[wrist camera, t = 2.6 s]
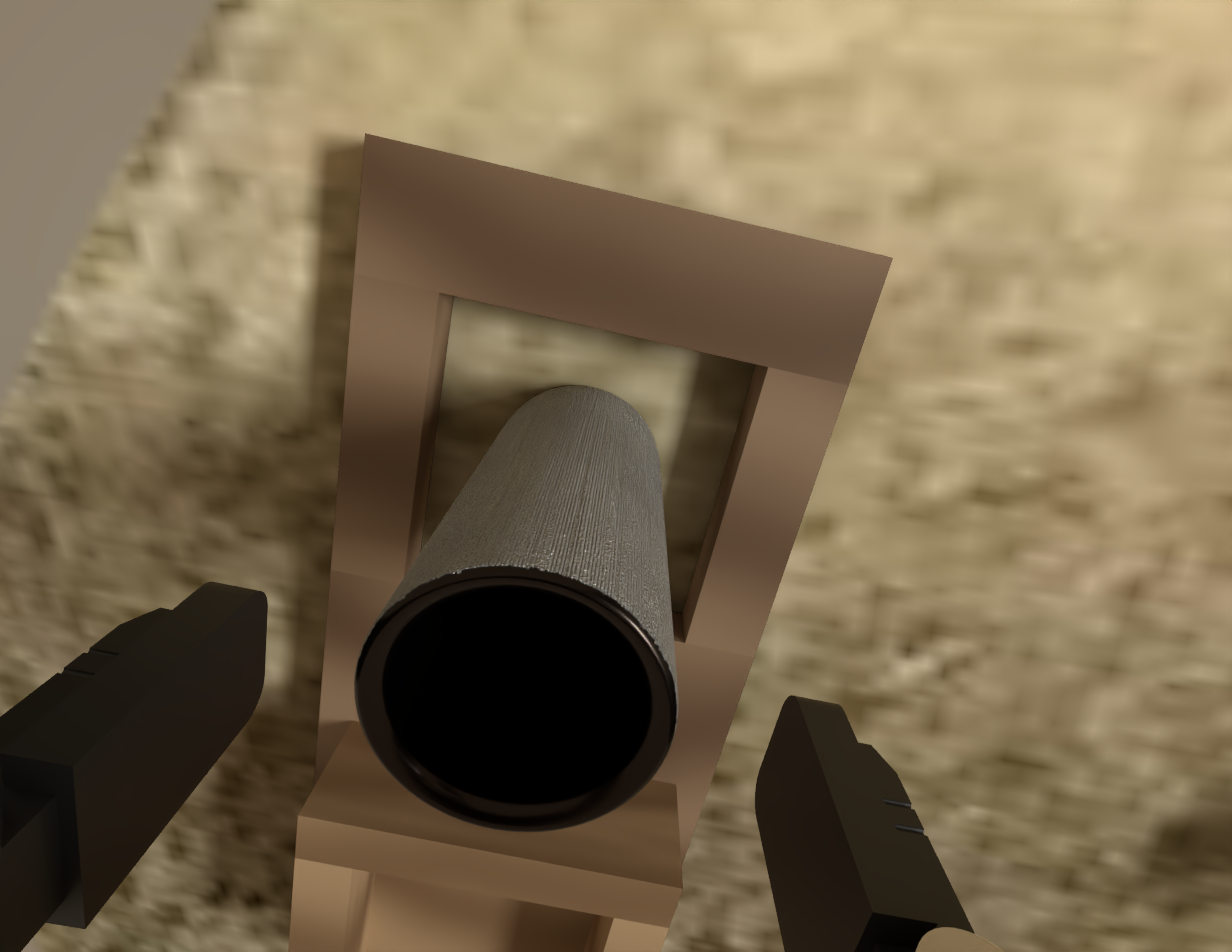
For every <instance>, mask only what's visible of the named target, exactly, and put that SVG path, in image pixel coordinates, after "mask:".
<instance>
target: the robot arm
mask: <svg viewBox="0 0 1232 952" xmlns="http://www.w3.org/2000/svg"><path fill="white" fill-rule="evenodd" d="M267 609H268V603H267V598H266V595H265V593H264V592H262V591H257V590H252V589H247V588H242V587H237V586H231V585H226V584H221V583H216V582H208V583H205V584H204V585H202V586H201V587H200V588H198V589H197V590H196V591H195V592H194V593H192V594H191V595H190V596H189V597H188V598H186V599H185V600H184V601H183V602H182V603H180V604H179V605H178V606H177V607H175V608H174V609H173V610H169V609H164V608H159V609H156V610H154V611H151V612H149V613H147V614H144V615H142V616H140V617H137V618H135V619H132V620H130V621H128V622H125V623H123V624H120V625H119V626H118V627H116V628H115V629H114V630H112V631H111V632H110V633H109V634H107V635H106V636H105V637H103V638H102V639H101V640H100V641H98V642H97V643H96V644H94V645H93V646H92V647H90V650H89V652H88V653H83V654H81V655H80V656H79V657H77V658H76V659H75V660H74V661H72V662H71V663H70V664H68V665H67V666H66V667H64V671H63V672H62V673H61V674H60V673H57V674H55V675H54V676H53V677H51V678H50V679H49V680H48V681H46V682H45V683H44V684H42V685H41V686H40V687H39V688H37V689H36V690H35V691H33V692H32V693H31V694H29V695H28V696H27V697H26V698H24V699H23V700H22V701H20V702H19V703H18V704H16V705H15V706H14V707H13V708H11V709H10V710H9V711H7V712H6V713H5V714H3V715H2V716H1V717H0V952H21V951H22V950H23V948H24V947H25V946H26V945H27V944H28V943H29V941H30V940H31V939H32V938H33V937H34V935H35V934H36V933H37V932H38V931H39V930H40V928H41V927H42V926H43V925H44V924H45V922H46V923H51V924H57V925H63V926H69V927H75V928H81V929H86V927H87V926H88V925H89V924H90V922H91V921H92V920H93V918H94V917H95V916H96V915H97V913H98V912H99V911H100V909H101V908H102V907H103V906H104V904H105V903H106V902H107V901H108V899H109V898H110V897H111V895H112V894H113V893H114V892H115V890H116V889H117V888H118V886H119V885H120V884H121V883H122V881H123V880H124V879H125V878H126V876H127V875H128V874H129V872H130V871H131V870H132V869H133V867H134V866H135V865H136V863H137V862H138V861H139V860H140V858H141V857H142V856H143V855H144V853H145V852H146V851H147V849H148V848H149V847H150V846H151V844H152V843H153V842H154V840H155V839H156V838H157V837H158V835H159V834H160V833H161V832H162V830H163V829H164V828H165V826H166V825H167V824H168V823H169V821H170V820H171V819H172V817H173V816H174V815H175V814H176V812H177V811H178V810H179V808H180V807H181V806H182V805H183V803H184V802H185V801H186V800H187V798H188V797H189V796H190V794H191V793H192V792H193V791H194V789H195V788H196V787H197V785H198V784H199V783H200V782H201V780H202V779H203V778H204V777H205V775H206V774H207V773H208V771H209V770H210V769H211V768H212V766H213V765H214V764H215V762H216V761H217V760H218V759H219V757H220V756H221V755H222V754H223V752H224V751H225V750H226V748H227V747H228V746H229V745H230V743H231V742H232V741H233V739H234V738H235V737H236V736H237V734H238V733H239V732H240V731H241V729H242V728H243V727H244V725H245V724H246V723H247V721H248V720H249V719H250V717H251V715H252V714H253V712H254V710H255V708H256V706H257V703H258V701H259V698H260V695H261V692H262V688H263V684H264V676H265V655H266V632H267ZM755 810H756V818H757V823H758V827H759V832H760V837H761V841H762V846H763V851H764V856H765V860H766V865H767V870H768V874H769V879H770V884H771V889H772V893H773V898H774V903H775V907H776V912H777V917H778V922H779V926H780V931H781V936H782V940H783V945H784V950H785V952H1004V951H1002V950H1001V949H1000V948H998V947H997V946H996V945H994V944H992V943H991V942H989V941H988V940H986V939H984V938H982V937H980V936H978V935H976V934H975V933H974V931H973V929H972V927H971V925H970V923H969V921H968V919H967V917H966V914H965V912H964V910H963V908H962V906H961V904H960V902H959V900H958V898H957V896H956V894H955V892H954V890H953V888H952V886H951V884H950V882H949V880H948V878H947V876H946V873H945V871H944V869H943V867H942V865H941V863H940V861H939V859H938V857H937V855H936V853H935V851H934V849H933V847H932V845H931V843H930V841H929V839H928V837H927V836H925V835H924V834H923V830H924V828H923V826H922V824H921V822H920V820H919V818H918V816H917V814H916V812H915V810H913V809H911V802H910V800H909V798H908V796H907V793H906V791H905V789H904V787H903V785H902V783H901V781H900V779H899V777H898V775H897V773H896V772H895V771H894V770H893V769H892V768H891V767H890V765H889V764H888V763H887V762H886V761H885V760H884V759H883V758H882V757H881V756H880V754H879V753H878V752H877V751H876V750H875V749H874V748H873V747H872V746H871V745H868V744H863V743H858V741H857V739H856V737H855V734H854V732H853V730H852V728H851V725H850V723H849V721H848V719H847V716H846V714H845V712H844V710H843V708H842V707H841V706H840V705H838V704H834V703H829V702H824V701H818V700H813V699H808V698H803V697H798V696H792V695H791V696H789V697H788V698H787V699H786V700H785V702H784V704H783V706H782V709H781V712H780V715H779V717H778V720H777V723H776V726H775V728H774V731H773V734H772V737H771V740H770V742H769V745H768V748H767V751H766V754H765V756H764V759H763V762H762V765H761V768H760V771H759V774H758V778H757V783H756V792H755Z"/></svg>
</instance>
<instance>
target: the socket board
mask: <svg viewBox="0 0 1232 952" xmlns="http://www.w3.org/2000/svg"><path fill="white" fill-rule="evenodd" d="M892 259H893V258H891V257H887V256H883V255H878V254H874V253H870V252H866V251H861V250H857V249H853V248H849V247H844V246H840V245H836V244H832V243H828V242H823V241H819V240H815V239H811V238H806V237H802V236H798V235H794V234H789V233H785V232H781V231H777V230H772V229H768V228H764V227H760V226H756V225H751V224H747V223H743V222H739V221H734V220H730V219H726V218H722V217H717V216H713V215H709V214H705V213H700V212H696V211H692V210H688V209H683V208H679V207H675V206H671V205H667V204H662V203H658V202H654V201H650V200H645V199H641V198H637V197H633V196H628V195H624V194H620V193H616V192H611V191H607V190H603V189H599V188H595V187H590V186H586V185H582V184H578V183H573V182H569V181H565V180H561V179H556V178H552V177H548V176H544V175H539V174H535V173H531V172H527V171H522V170H518V169H514V168H510V167H506V166H501V165H497V164H493V163H489V162H484V161H480V160H476V159H472V158H467V157H463V156H459V155H455V154H450V153H446V152H442V151H438V150H433V149H429V148H425V147H421V146H417V145H412V144H408V143H404V142H400V141H395V140H391V139H387V138H383V137H378V136H374V135H370V134H366V133H365V142H364V154H363V167H362V180H361V192H360V205H359V218H358V230H357V243H356V256H355V268H354V281H353V294H352V306H351V319H350V332H349V344H348V357H347V370H346V382H345V395H344V408H343V420H342V433H341V446H340V458H339V471H338V484H337V496H336V509H335V522H334V534H333V547H332V560H331V572H330V585H329V598H328V610H327V623H326V636H325V648H324V661H323V674H322V686H321V699H320V712H319V724H318V737H317V750H316V762H315V775H314V788H313V790H312V792H311V793H310V795H309V797H308V799H307V800H306V802H305V804H304V806H303V807H302V809H301V811H300V813H299V814H298V820H297V835H296V849H295V864H294V878H293V892H292V907H291V921H290V935H289V950H288V952H661V949H662V946H663V943H664V941H665V938H666V935H667V932H668V929H669V927H670V924H671V921H672V918H673V915H674V912H675V910H676V907H677V904H678V901H679V898H680V895H681V893H682V890H683V883H682V864H683V861H684V858H685V855H686V852H687V849H688V846H689V844H690V841H691V838H692V835H693V832H694V829H695V826H696V823H697V821H698V818H699V815H700V812H701V809H702V806H703V803H704V800H705V798H706V795H707V792H708V789H709V786H710V783H711V780H712V777H713V775H714V772H715V769H716V766H717V763H718V760H719V757H720V754H721V751H722V749H723V746H724V743H725V740H726V737H727V734H728V731H729V728H730V726H731V723H732V720H733V717H734V714H735V711H736V708H737V705H738V703H739V700H740V697H741V694H742V691H743V688H744V685H745V682H746V680H747V677H748V674H749V671H750V668H751V665H752V662H753V659H754V656H755V654H756V651H757V648H758V645H759V642H760V639H761V636H762V633H763V631H764V628H765V625H766V622H767V619H768V616H769V613H770V610H771V608H772V605H773V602H774V599H775V596H776V593H777V590H778V587H779V584H780V582H781V579H782V576H783V573H784V570H785V567H786V564H787V561H788V559H789V556H790V553H791V550H792V547H793V544H794V541H795V538H796V536H797V533H798V530H799V527H800V524H801V521H802V518H803V515H804V513H805V510H806V507H807V504H808V501H809V498H810V495H811V492H812V489H813V487H814V484H815V481H816V478H817V475H818V472H819V469H820V466H821V464H822V461H823V458H824V455H825V452H826V449H827V446H828V443H829V441H830V438H831V435H832V432H833V429H834V426H835V423H836V420H837V417H838V415H839V412H840V409H841V406H842V403H843V400H844V397H845V394H846V392H847V389H848V386H849V383H850V380H851V377H852V374H853V371H854V369H855V366H856V363H857V360H858V357H859V354H860V351H861V348H862V346H863V343H864V340H865V337H866V334H867V331H868V328H869V325H870V322H871V320H872V317H873V314H874V311H875V308H876V305H877V302H878V299H879V297H880V294H881V291H882V288H883V285H884V282H885V279H886V276H887V274H888V271H889V268H890V265H891V262H892ZM454 296H457V297H461V298H466V299H470V300H474V301H479V302H483V303H488V304H492V305H497V306H501V307H505V308H510V309H514V310H519V311H523V312H527V313H532V314H536V315H541V316H545V317H549V318H554V319H558V320H563V321H567V322H572V323H576V324H580V325H585V326H589V327H594V328H598V329H602V330H607V331H611V332H616V333H620V334H624V335H629V336H633V337H638V338H642V339H647V340H651V341H655V342H660V343H664V344H669V345H673V346H677V347H682V348H686V349H691V350H695V351H699V352H704V353H708V354H713V355H717V356H721V357H726V358H730V359H735V360H739V361H744V362H748V363H752V364H756V365H755V369H754V372H753V376H752V379H751V382H750V386H749V389H748V393H747V396H746V399H745V403H744V406H743V409H742V413H741V416H740V420H739V423H738V426H737V430H736V433H735V437H734V440H733V443H732V447H731V450H730V454H729V457H728V460H727V464H726V467H725V471H724V474H723V477H722V481H721V484H720V488H719V491H718V494H717V498H716V501H715V505H714V508H713V511H712V515H711V518H710V522H709V525H708V528H707V532H706V535H705V539H704V542H703V545H702V549H701V552H700V555H699V559H698V562H697V566H696V569H695V572H694V576H693V579H692V583H691V586H690V589H689V593H688V596H687V600H686V603H685V606H684V610H683V613H682V614H679V613H674V612H672V622H673V634H674V647H675V660H676V672H677V686H678V721H677V727H676V732H675V736H674V739H673V742H672V745H671V747H670V750H669V752H668V754H667V756H666V758H665V760H664V762H663V764H662V765H661V767H660V768H659V770H658V771H657V773H656V774H655V775H654V777H653V778H652V779H651V780H650V781H649V783H648V784H647V785H646V786H645V787H644V788H643V789H642V790H641V791H640V792H639V793H637V794H636V795H635V796H634V797H633V798H632V799H630V800H629V801H628V802H626V803H625V804H623V805H622V806H620V807H619V808H617V809H615V810H614V811H612V812H610V813H608V814H606V815H604V816H602V817H600V818H598V819H595V820H593V821H590V822H587V823H584V824H581V825H578V826H574V827H570V828H566V829H560V830H554V831H545V832H511V831H502V830H495V829H490V828H485V827H481V826H477V825H473V824H470V823H467V822H464V821H461V820H458V819H456V818H453V817H451V816H448V815H446V814H444V813H442V812H440V811H438V810H436V809H434V808H432V807H431V806H429V805H427V804H426V803H424V802H422V801H421V800H419V799H418V798H417V797H415V796H414V795H412V794H411V793H410V792H409V791H407V790H406V789H405V788H404V787H403V786H402V785H400V784H399V783H398V782H397V781H396V780H395V779H394V778H393V777H392V776H391V775H390V773H389V772H388V771H387V770H386V769H385V768H384V766H383V765H382V764H381V763H380V761H379V760H378V758H377V757H376V755H375V754H374V752H373V751H372V749H371V747H370V745H369V744H368V742H367V739H366V737H365V735H364V733H363V730H362V727H361V725H360V721H359V718H358V714H357V710H356V704H355V695H354V679H355V669H356V664H357V659H358V656H359V653H360V650H361V647H362V645H363V642H364V640H365V638H366V636H367V634H368V632H369V631H370V629H371V627H372V625H373V624H374V622H375V621H376V619H377V617H378V616H379V614H380V613H381V611H382V610H383V608H384V607H385V605H386V604H387V602H388V601H389V599H390V598H391V596H392V595H393V593H394V592H395V590H396V589H397V587H398V585H399V584H400V582H401V581H402V579H403V578H404V576H405V575H406V573H407V572H408V570H409V569H410V567H411V566H412V564H413V563H414V561H415V560H416V558H417V557H418V555H419V554H420V551H421V543H422V536H423V528H424V520H425V513H426V505H427V497H428V490H429V482H430V474H431V467H432V459H433V451H434V444H435V436H436V429H437V421H438V413H439V406H440V398H441V390H442V383H443V375H444V367H445V360H446V352H447V344H448V337H449V329H450V321H451V314H452V306H453V298H454Z"/></svg>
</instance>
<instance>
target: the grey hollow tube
mask: <svg viewBox="0 0 1232 952" xmlns="http://www.w3.org/2000/svg"><path fill="white" fill-rule="evenodd" d="M354 695H355V704H356V710H357V714H358V718H359V721H360V725H361V727H362V730H363V733H364V735H365V737H366V739H367V742H368V744H369V745H370V747H371V749H372V751H373V752H374V754H375V755H376V757H377V758H378V760H379V761H380V763H381V764H382V765H383V766H384V768H385V769H386V770H387V771H388V772H389V773H390V775H391V776H392V777H393V778H394V779H395V780H396V781H397V782H398V783H399V784H400V785H402V786H403V787H404V788H405V789H406V790H407V791H409V792H410V793H411V794H412V795H414V796H415V797H417V798H418V799H419V800H421V801H422V802H424V803H426V804H427V805H429V806H431V807H432V808H434V809H436V810H438V811H440V812H442V813H444V814H446V815H448V816H451V817H453V818H456V819H458V820H461V821H464V822H467V823H470V824H473V825H477V826H481V827H485V828H490V829H495V830H502V831H511V832H545V831H554V830H560V829H566V828H570V827H574V826H578V825H581V824H584V823H587V822H590V821H593V820H595V819H598V818H600V817H602V816H604V815H606V814H608V813H610V812H612V811H614V810H615V809H617V808H619V807H620V806H622V805H623V804H625V803H626V802H628V801H629V800H630V799H632V798H633V797H634V796H635V795H636V794H637V793H639V792H640V791H641V790H642V789H643V788H644V787H645V786H646V785H647V784H648V783H649V781H650V780H651V779H652V778H653V777H654V775H655V774H656V773H657V771H658V770H659V768H660V767H661V765H662V764H663V762H664V760H665V758H666V756H667V754H668V752H669V750H670V747H671V745H672V742H673V739H674V736H675V732H676V727H677V721H678V686H677V672H676V660H675V647H674V634H673V622H672V609H671V597H670V584H669V572H668V559H667V546H666V534H665V521H664V509H663V496H662V483H661V471H660V460H659V455H658V451H657V447H656V443H655V440H654V437H653V435H652V433H651V431H650V429H649V427H648V425H647V424H646V422H645V421H644V419H643V418H642V417H641V416H640V415H639V413H638V412H637V411H636V410H635V409H634V408H633V407H632V406H630V405H629V404H628V403H627V402H625V401H624V400H622V399H621V398H619V397H617V396H615V395H613V394H611V393H609V392H606V391H604V390H601V389H597V388H593V387H587V386H564V387H558V388H554V389H550V390H547V391H545V392H543V393H540V394H538V395H536V396H534V397H533V398H531V399H530V400H528V401H527V402H526V403H524V404H523V405H522V406H521V407H520V408H519V409H518V410H517V411H516V412H515V413H514V414H513V415H512V416H511V417H510V418H509V420H508V421H507V422H506V424H505V425H504V427H503V428H502V430H501V431H500V433H499V434H498V436H497V437H496V439H495V440H494V442H493V443H492V445H491V446H490V448H489V449H488V451H487V452H486V454H485V455H484V457H483V458H482V460H481V461H480V463H479V464H478V466H477V467H476V469H475V470H474V472H473V474H472V475H471V477H470V478H469V480H468V481H467V483H466V484H465V486H464V487H463V489H462V490H461V492H460V493H459V495H458V496H457V498H456V499H455V501H454V502H453V504H452V505H451V507H450V508H449V510H448V511H447V513H446V514H445V516H444V517H443V519H442V520H441V522H440V523H439V525H438V526H437V528H436V530H435V531H434V533H433V534H432V536H431V537H430V539H429V540H428V542H427V543H426V545H425V546H424V548H423V549H422V551H421V552H420V554H419V555H418V557H417V558H416V560H415V561H414V563H413V564H412V566H411V567H410V569H409V570H408V572H407V573H406V575H405V576H404V578H403V579H402V581H401V582H400V584H399V585H398V587H397V589H396V590H395V592H394V593H393V595H392V596H391V598H390V599H389V601H388V602H387V604H386V605H385V607H384V608H383V610H382V611H381V613H380V614H379V616H378V617H377V619H376V621H375V622H374V624H373V625H372V627H371V629H370V631H369V632H368V634H367V636H366V638H365V640H364V642H363V645H362V647H361V650H360V653H359V656H358V659H357V664H356V669H355V679H354Z"/></svg>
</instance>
